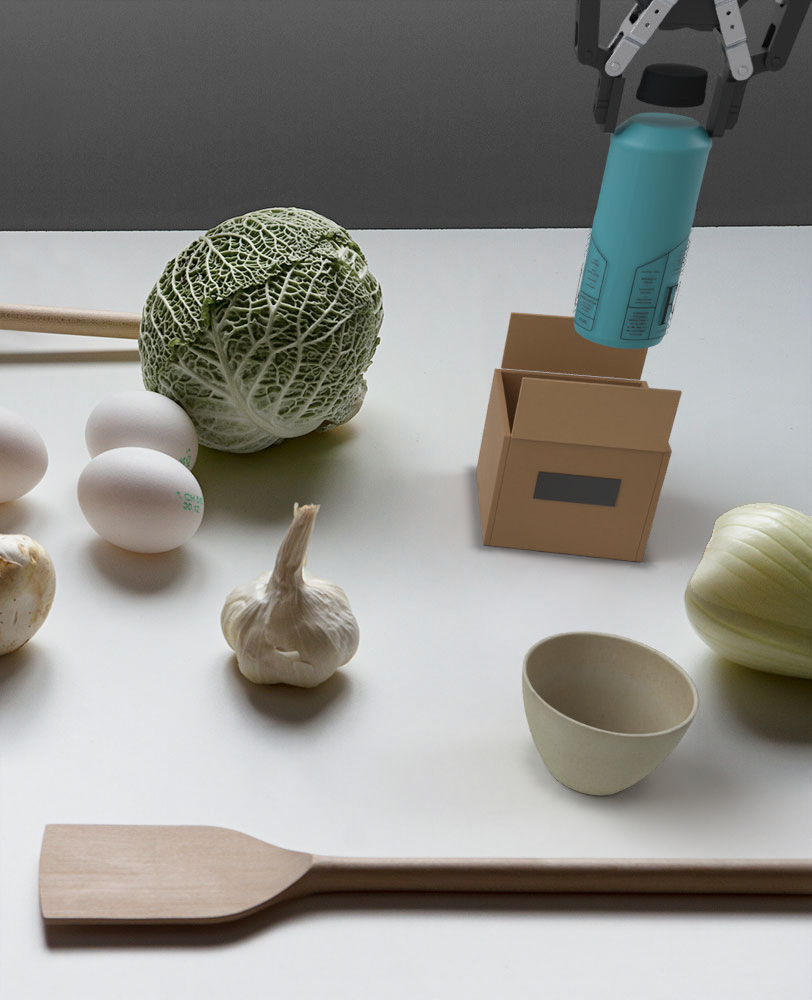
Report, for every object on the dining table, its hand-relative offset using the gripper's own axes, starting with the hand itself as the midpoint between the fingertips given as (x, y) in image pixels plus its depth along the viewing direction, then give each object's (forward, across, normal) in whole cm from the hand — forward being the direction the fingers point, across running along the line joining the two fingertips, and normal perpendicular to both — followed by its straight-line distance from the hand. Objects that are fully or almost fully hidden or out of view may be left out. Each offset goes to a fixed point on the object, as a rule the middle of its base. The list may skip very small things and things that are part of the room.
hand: (660, 132), depth 85 cm
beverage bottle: (+16, 0, 0) cm, 16 cm away
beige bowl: (+33, -1, -26) cm, 42 cm away
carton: (+33, 0, +6) cm, 34 cm away
